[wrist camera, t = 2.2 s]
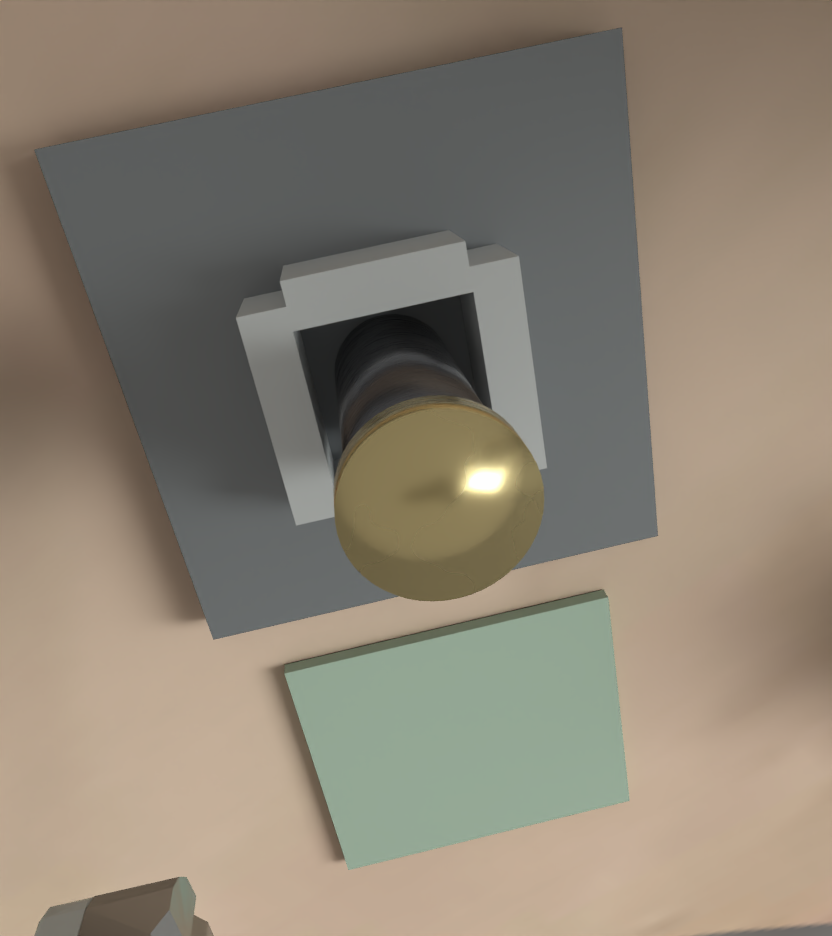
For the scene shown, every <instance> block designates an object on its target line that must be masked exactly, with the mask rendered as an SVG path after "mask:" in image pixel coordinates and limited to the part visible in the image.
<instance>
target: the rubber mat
mask: <svg viewBox="0 0 832 936" xmlns="http://www.w3.org/2000/svg"><path fill="white" fill-rule="evenodd" d="M284 674H285V677H286V680H287V683H288V686H289V689H290V692H291V695H292V698H293V702H294V705H295V708H296V711H297V714H298V717H299V720H300V723H301V726H302V729H303V732H304V735H305V738H306V741H307V744H308V747H309V750H310V754H311V757H312V760H313V763H314V766H315V769H316V772H317V775H318V778H319V781H320V784H321V787H322V790H323V793H324V796H325V799H326V802H327V805H328V809H329V812H330V815H331V818H332V821H333V824H334V827H335V830H336V833H337V836H338V839H339V842H340V845H341V848H342V851H343V854H344V857H345V861H346V864H347V867H348V870H351V869H355V868H359V867H363V866H367V865H371V864H375V863H379V862H383V861H387V860H391V859H395V858H399V857H403V856H407V855H412V854H416V853H420V852H424V851H428V850H432V849H436V848H440V847H444V846H448V845H452V844H456V843H460V842H464V841H468V840H472V839H476V838H480V837H484V836H489V835H493V834H497V833H501V832H505V831H509V830H513V829H517V828H521V827H525V826H529V825H533V824H537V823H541V822H545V821H549V820H553V819H557V818H561V817H565V816H570V815H574V814H578V813H582V812H586V811H590V810H594V809H598V808H602V807H606V806H610V805H614V804H618V803H622V802H626V801H629V791H628V782H627V772H626V763H625V753H624V744H623V734H622V725H621V715H620V706H619V696H618V687H617V677H616V668H615V658H614V649H613V639H612V630H611V620H610V611H609V601H608V596H607V595H606V593H605V592H604V590H600V591H595V592H591V593H587V594H583V595H578V596H574V597H570V598H566V599H562V600H557V601H553V602H549V603H545V604H540V605H536V606H532V607H528V608H523V609H519V610H515V611H511V612H506V613H502V614H498V615H494V616H489V617H485V618H481V619H477V620H472V621H468V622H464V623H460V624H456V625H451V626H447V627H443V628H439V629H434V630H430V631H426V632H422V633H417V634H413V635H409V636H405V637H400V638H396V639H392V640H388V641H383V642H379V643H375V644H371V645H366V646H362V647H358V648H354V649H350V650H345V651H341V652H337V653H333V654H328V655H324V656H320V657H316V658H311V659H307V660H303V661H299V662H294V663H290V664H286V665H285V672H284Z"/></svg>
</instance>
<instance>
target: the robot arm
mask: <svg viewBox="0 0 832 936" xmlns="http://www.w3.org/2000/svg"><path fill="white" fill-rule="evenodd" d="M195 901H196V895H195V893H194V891H193V889H192V887H191V885H190V883H189V881H188V879H187V877H177V878H172V879H168V880H163V881H159V882H155V883H150V884H146V885H141V886H137V887H133V888H128V889H124V890H119V891H115V892H111V893H106V894H102V895H98V896H94V897H91V898H87V899H83V900H79V901H74V902H70V903H66V904H61V905H57V906H53V907H50V908H49V909H48V911H47V912H46V913H45V915H44V916H43V917H42V919H41V920H40V922H39V924H38V927H37V930H36V933H35V935H34V936H214V935H213V933H212V931H211V928H210V926H209V924H208V922H207V921H205V920H203V919H201V918H199V917H197V916H195V915H194V908H195Z"/></svg>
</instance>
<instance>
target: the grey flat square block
mask: <svg viewBox="0 0 832 936" xmlns="http://www.w3.org/2000/svg"><path fill="white" fill-rule="evenodd" d="M35 153H36V156H37V159H38V161H39V164H40V167H41V170H42V172H43V175H44V178H45V181H46V183H47V186H48V189H49V191H50V194H51V197H52V200H53V202H54V205H55V208H56V211H57V213H58V216H59V219H60V222H61V224H62V227H63V230H64V232H65V235H66V238H67V241H68V243H69V246H70V249H71V252H72V254H73V257H74V260H75V262H76V265H77V268H78V271H79V273H80V276H81V279H82V282H83V284H84V287H85V290H86V293H87V295H88V298H89V301H90V303H91V306H92V309H93V312H94V314H95V317H96V320H97V323H98V325H99V328H100V331H101V334H102V336H103V339H104V342H105V344H106V347H107V350H108V353H109V355H110V358H111V361H112V364H113V366H114V369H115V372H116V374H117V377H118V380H119V383H120V385H121V388H122V391H123V394H124V396H125V399H126V402H127V405H128V407H129V410H130V413H131V415H132V418H133V421H134V424H135V426H136V429H137V432H138V435H139V437H140V440H141V443H142V446H143V448H144V451H145V454H146V456H147V459H148V462H149V465H150V467H151V470H152V473H153V476H154V478H155V481H156V484H157V486H158V489H159V492H160V495H161V497H162V500H163V503H164V506H165V508H166V511H167V514H168V517H169V519H170V522H171V525H172V527H173V530H174V533H175V536H176V538H177V541H178V544H179V547H180V549H181V552H182V555H183V557H184V560H185V563H186V566H187V568H188V571H189V574H190V577H191V579H192V582H193V585H194V588H195V590H196V593H197V596H198V598H199V601H200V604H201V607H202V609H203V612H204V615H205V618H206V620H207V623H208V626H209V629H210V631H211V634H212V637H213V639H219V638H223V637H227V636H231V635H236V634H240V633H244V632H249V631H253V630H257V629H261V628H266V627H270V626H274V625H278V624H283V623H287V622H291V621H296V620H300V619H304V618H308V617H313V616H317V615H321V614H326V613H330V612H334V611H338V610H343V609H347V608H351V607H355V606H360V605H364V604H368V603H373V602H377V601H381V600H385V599H390V598H394V597H398V596H397V595H394V594H392V593H389V592H387V591H385V590H383V589H381V588H379V587H378V586H376V585H374V584H372V583H371V582H370V581H369V580H367V579H366V578H365V577H364V576H362V575H361V573H360V572H359V571H358V570H357V569H356V568H355V567H354V566H353V565H352V563H351V562H350V560H349V559H348V558H347V556H346V554H345V552H344V550H343V548H342V546H341V544H340V541H339V538H338V535H337V530H336V525H335V514H334V496H333V488H334V478H335V474H336V470H337V466H338V464H339V461H340V459H341V456H342V445H341V434H340V424H339V414H338V404H337V394H336V383H335V361H336V357H337V354H338V351H339V348H340V346H341V345H342V343H343V341H344V340H345V338H346V337H347V336H348V334H349V333H350V332H351V331H352V330H353V329H354V328H356V327H357V326H358V325H359V324H361V323H363V322H364V321H366V320H368V319H371V318H373V317H376V316H380V315H386V314H400V315H406V316H410V317H413V318H416V319H418V320H420V321H422V322H423V323H425V324H426V325H428V326H429V327H430V328H431V329H432V330H433V331H435V332H436V334H437V335H438V336H439V338H440V339H441V340H442V342H443V344H444V345H445V347H446V348H447V350H448V351H449V353H450V354H451V356H452V357H453V359H454V361H455V362H456V364H457V365H458V367H459V368H460V370H461V371H462V373H463V374H464V376H465V378H466V379H467V381H468V382H469V384H470V385H471V387H472V388H473V390H474V391H475V393H476V395H477V396H478V398H479V399H480V401H481V402H482V404H483V405H484V406H486V407H488V408H490V409H492V410H493V411H495V412H496V413H497V414H499V415H500V416H502V417H503V418H504V419H505V420H506V421H507V422H508V423H509V424H510V425H511V426H512V427H513V428H514V430H515V431H516V432H517V434H518V435H519V436H520V438H521V439H522V441H523V442H524V443H525V445H526V446H527V448H528V449H529V451H530V452H531V454H532V456H533V457H534V459H535V461H536V463H537V465H538V468H539V471H540V473H541V477H542V482H543V486H544V511H543V516H542V520H541V524H540V527H539V530H538V533H537V535H536V537H535V539H534V541H533V543H532V545H531V547H530V548H529V550H528V551H527V553H526V554H525V556H524V557H523V558H522V559H521V561H520V562H519V563H518V564H517V565H516V566H515V567H514V568H513V569H512V570H514V569H518V568H522V567H527V566H531V565H535V564H539V563H544V562H548V561H552V560H557V559H561V558H565V557H569V556H574V555H578V554H582V553H586V552H591V551H595V550H599V549H604V548H608V547H612V546H616V545H621V544H625V543H629V542H633V541H638V540H642V539H646V538H651V537H655V536H658V531H657V517H656V502H655V488H654V474H653V460H652V446H651V432H650V418H649V404H648V389H647V375H646V361H645V347H644V333H643V319H642V305H641V290H640V276H639V262H638V248H637V234H636V220H635V206H634V191H633V177H632V163H631V149H630V135H629V121H628V107H627V93H626V78H625V64H624V50H623V36H622V28H617V29H612V30H608V31H603V32H598V33H593V34H588V35H584V36H579V37H574V38H569V39H564V40H559V41H555V42H550V43H545V44H540V45H535V46H531V47H526V48H521V49H516V50H511V51H507V52H502V53H497V54H492V55H487V56H482V57H478V58H473V59H468V60H463V61H458V62H454V63H449V64H444V65H439V66H434V67H430V68H425V69H420V70H415V71H410V72H405V73H401V74H396V75H391V76H386V77H381V78H377V79H372V80H367V81H362V82H357V83H353V84H348V85H343V86H338V87H333V88H328V89H324V90H319V91H314V92H309V93H304V94H300V95H295V96H290V97H285V98H280V99H276V100H271V101H266V102H261V103H256V104H251V105H247V106H242V107H237V108H232V109H227V110H223V111H218V112H213V113H208V114H203V115H198V116H194V117H189V118H184V119H179V120H174V121H170V122H165V123H160V124H155V125H150V126H146V127H141V128H136V129H131V130H126V131H121V132H117V133H112V134H107V135H102V136H97V137H93V138H88V139H83V140H78V141H73V142H69V143H64V144H59V145H54V146H49V147H44V148H40V149H35Z"/></svg>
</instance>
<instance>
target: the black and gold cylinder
mask: <svg viewBox="0 0 832 936" xmlns="http://www.w3.org/2000/svg"><path fill="white" fill-rule="evenodd" d="M335 383H336V394H337V404H338V414H339V424H340V434H341V445H342V456H341V459H340V461H339V464H338V466H337V470H336V474H335V478H334V488H333V496H334V514H335V525H336V530H337V535H338V538H339V541H340V544H341V546H342V548H343V550H344V552H345V554H346V556H347V558H348V559H349V560H350V562H351V563H352V565H353V566H354V567H355V568H356V569H357V570H358V571H359V572H360V573H361V575H362V576H364V577H365V578H366V579H367V580H369V581H370V582H371V583H372V584H374V585H376V586H378V587H379V588H381V589H383V590H385V591H387V592H389V593H392V594H394V595H397V596H400V597H404V598H407V599H413V600H419V601H444V600H451V599H456V598H461V597H464V596H468V595H471V594H473V593H476V592H478V591H481V590H483V589H485V588H487V587H488V586H490V585H492V584H494V583H495V582H497V581H498V580H500V579H501V578H502V577H504V576H505V575H506V574H508V573H509V572H510V571H511V570H512V569H513V568H514V567H515V566H516V565H517V564H518V563H519V562H520V561H521V559H522V558H523V557H524V556H525V554H526V553H527V551H528V550H529V548H530V547H531V545H532V543H533V541H534V539H535V537H536V535H537V533H538V530H539V527H540V524H541V520H542V516H543V511H544V486H543V482H542V477H541V473H540V471H539V468H538V465H537V463H536V461H535V459H534V457H533V456H532V454H531V452H530V451H529V449H528V448H527V446H526V445H525V443H524V442H523V441H522V439H521V438H520V436H519V435H518V434H517V432H516V431H515V430H514V428H513V427H512V426H511V425H510V424H509V423H508V422H507V421H506V420H505V419H504V418H503V417H502V416H500V415H499V414H497V413H496V412H495V411H493V410H492V409H490V408H488V407H486V406H484V405H483V404H482V402H481V401H480V399H479V398H478V396H477V395H476V393H475V391H474V390H473V388H472V387H471V385H470V384H469V382H468V381H467V379H466V378H465V376H464V374H463V373H462V371H461V370H460V368H459V367H458V365H457V364H456V362H455V361H454V359H453V357H452V356H451V354H450V353H449V351H448V350H447V348H446V347H445V345H444V344H443V342H442V340H441V339H440V338H439V336H438V335H437V334H436V332H435V331H433V330H432V329H431V328H430V327H429V326H428V325H426V324H425V323H423V322H422V321H420V320H418V319H416V318H413V317H410V316H406V315H400V314H386V315H380V316H376V317H373V318H371V319H368V320H366V321H364V322H363V323H361V324H359V325H358V326H357V327H356V328H354V329H353V330H352V331H351V332H350V333H349V334H348V336H347V337H346V338H345V340H344V341H343V343H342V345H341V346H340V348H339V351H338V354H337V357H336V361H335Z"/></svg>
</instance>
